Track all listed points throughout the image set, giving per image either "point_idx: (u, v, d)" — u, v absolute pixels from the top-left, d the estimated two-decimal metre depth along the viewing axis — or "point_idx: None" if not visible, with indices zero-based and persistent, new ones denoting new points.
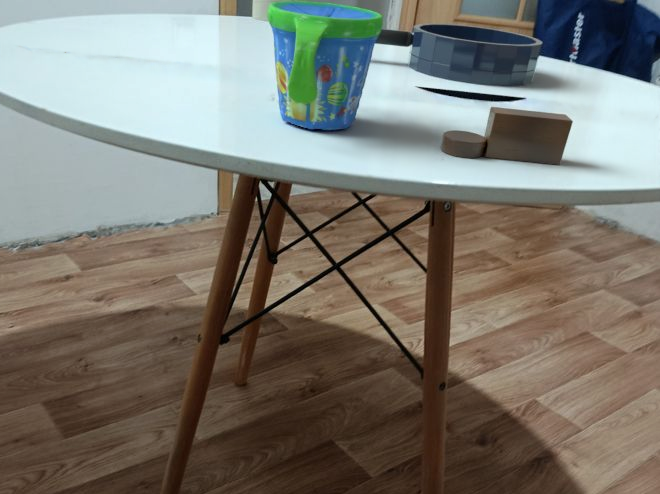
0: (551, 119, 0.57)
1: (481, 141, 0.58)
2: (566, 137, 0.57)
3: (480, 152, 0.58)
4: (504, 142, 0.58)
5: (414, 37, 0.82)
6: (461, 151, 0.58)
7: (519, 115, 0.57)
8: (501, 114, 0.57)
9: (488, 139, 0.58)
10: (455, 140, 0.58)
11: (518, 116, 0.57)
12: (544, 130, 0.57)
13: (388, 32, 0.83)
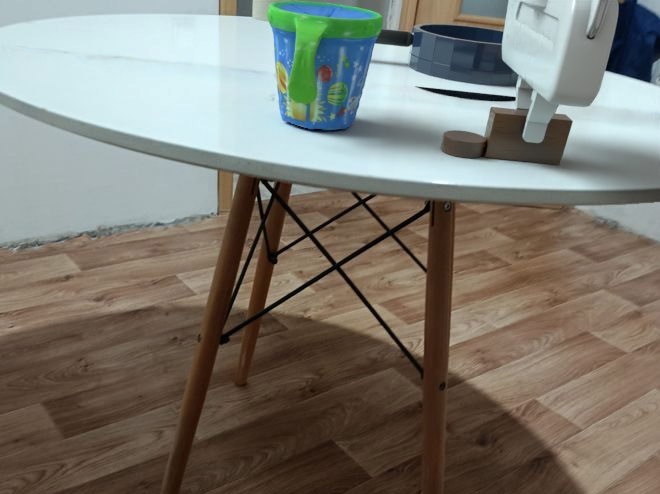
0: (551, 119, 0.57)
1: (481, 141, 0.58)
2: (566, 137, 0.57)
3: (480, 152, 0.58)
4: (504, 142, 0.58)
5: (414, 37, 0.82)
6: (461, 151, 0.58)
7: (519, 115, 0.57)
8: (501, 114, 0.57)
9: (488, 139, 0.58)
10: (455, 140, 0.58)
11: (518, 117, 0.57)
12: None
13: (388, 32, 0.83)
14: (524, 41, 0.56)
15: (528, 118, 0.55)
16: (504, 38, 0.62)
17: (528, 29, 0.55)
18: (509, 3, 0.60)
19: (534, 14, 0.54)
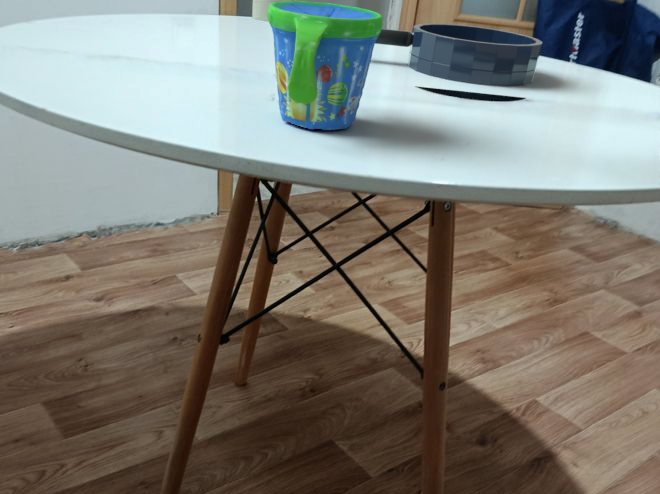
0: None
1: None
2: None
3: None
4: None
5: (414, 37, 0.82)
6: None
7: None
8: None
9: None
10: None
11: None
12: None
13: (388, 32, 0.83)
14: None
15: None
16: None
17: None
18: None
19: None
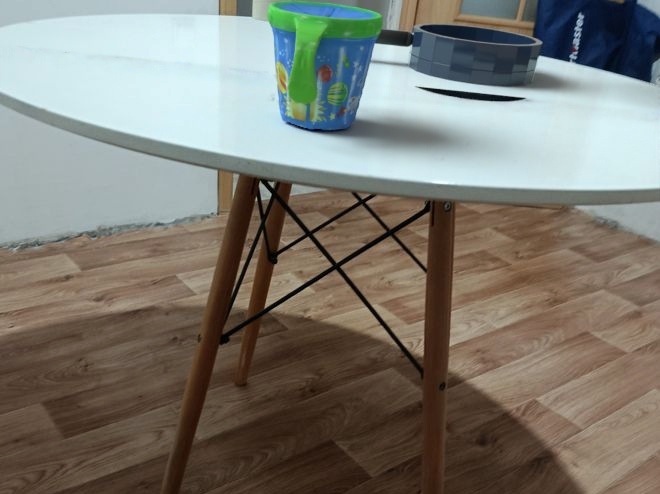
0: None
1: None
2: None
3: None
4: None
5: (414, 37, 0.82)
6: None
7: None
8: None
9: None
10: None
11: None
12: None
13: (388, 32, 0.83)
14: None
15: None
16: None
17: None
18: None
19: None
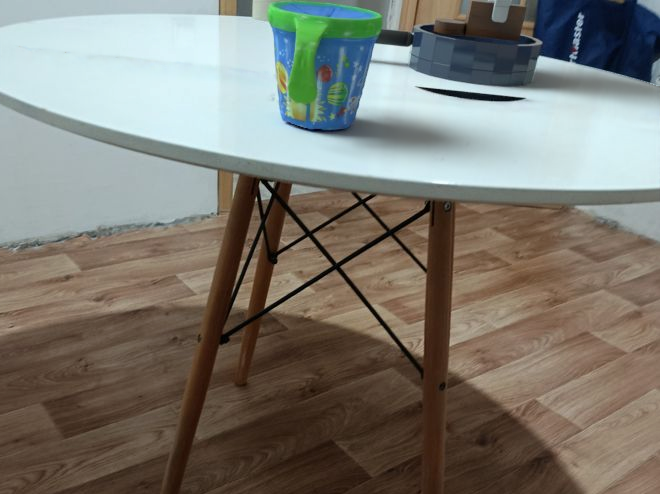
0: (511, 5, 0.80)
1: (462, 23, 0.81)
2: (522, 19, 0.81)
3: (461, 31, 0.82)
4: (479, 24, 0.81)
5: (414, 37, 0.82)
6: (448, 30, 0.81)
7: (489, 3, 0.80)
8: (476, 2, 0.80)
9: (467, 22, 0.81)
10: (444, 21, 0.81)
11: (488, 3, 0.80)
12: None
13: (388, 32, 0.83)
14: None
15: (495, 3, 0.78)
16: None
17: None
18: None
19: None
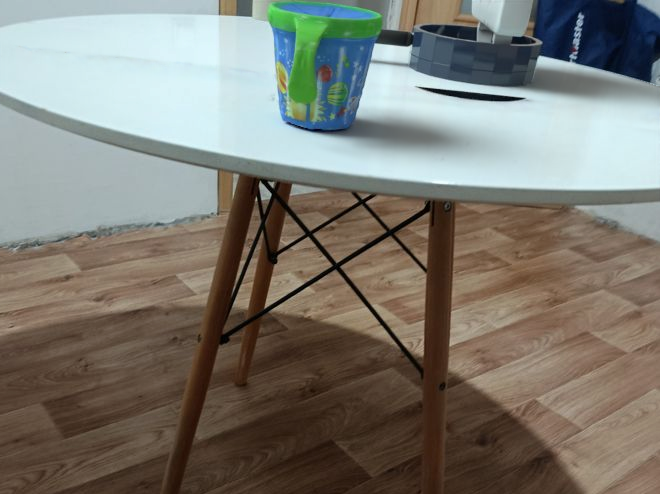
0: None
1: None
2: None
3: None
4: None
5: (414, 37, 0.82)
6: None
7: None
8: None
9: None
10: None
11: None
12: None
13: (388, 32, 0.83)
14: None
15: None
16: None
17: None
18: None
19: None
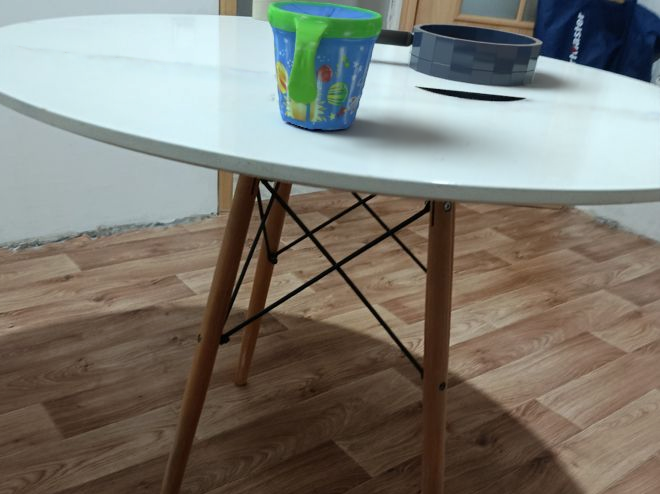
0: None
1: None
2: None
3: None
4: None
5: (414, 37, 0.82)
6: None
7: None
8: None
9: None
10: None
11: None
12: None
13: (388, 32, 0.83)
14: None
15: None
16: None
17: None
18: None
19: None
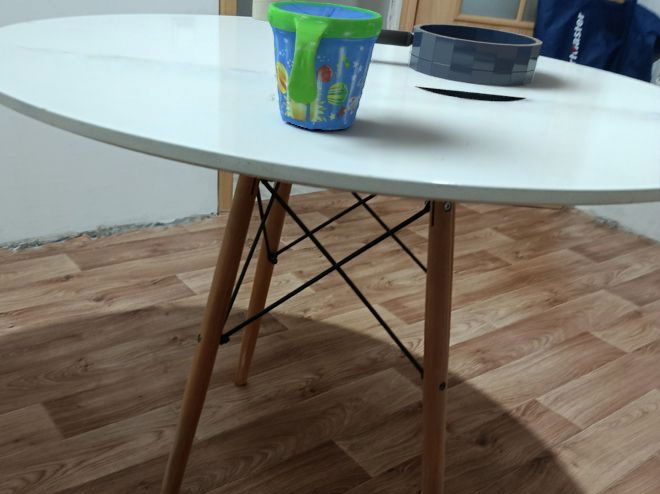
0: None
1: None
2: None
3: None
4: None
5: (414, 37, 0.82)
6: None
7: None
8: None
9: None
10: None
11: None
12: None
13: (388, 32, 0.83)
14: None
15: None
16: None
17: None
18: None
19: None
